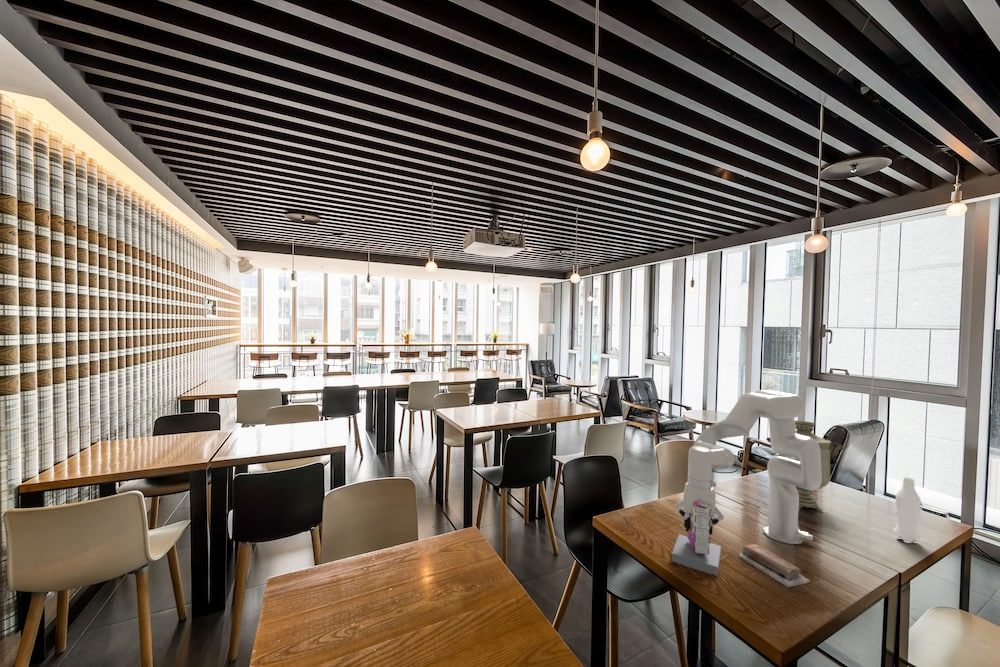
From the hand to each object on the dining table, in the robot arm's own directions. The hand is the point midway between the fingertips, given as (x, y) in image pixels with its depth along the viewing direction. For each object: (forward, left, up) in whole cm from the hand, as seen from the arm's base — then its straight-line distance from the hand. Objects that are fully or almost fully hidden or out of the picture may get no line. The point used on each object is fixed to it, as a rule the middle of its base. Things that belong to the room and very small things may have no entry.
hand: (697, 532), depth 139 cm
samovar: (-37, -78, -9) cm, 87 cm away
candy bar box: (0, 0, -5) cm, 5 cm away
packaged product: (-22, -8, -10) cm, 26 cm away
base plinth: (0, 0, -9) cm, 9 cm away
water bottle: (-69, -65, -9) cm, 95 cm away
